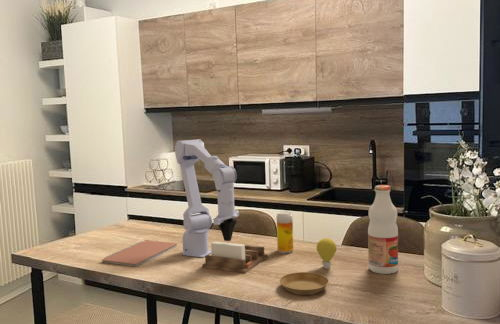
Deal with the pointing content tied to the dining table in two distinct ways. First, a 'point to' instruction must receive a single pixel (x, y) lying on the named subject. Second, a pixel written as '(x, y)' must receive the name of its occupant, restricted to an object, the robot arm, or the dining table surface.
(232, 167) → the robot arm
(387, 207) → the fruit juice
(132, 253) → the notebook
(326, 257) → the light bulb
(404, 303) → the dining table surface
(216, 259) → the rack
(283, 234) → the beer can
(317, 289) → the plant saucer
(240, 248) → the block
